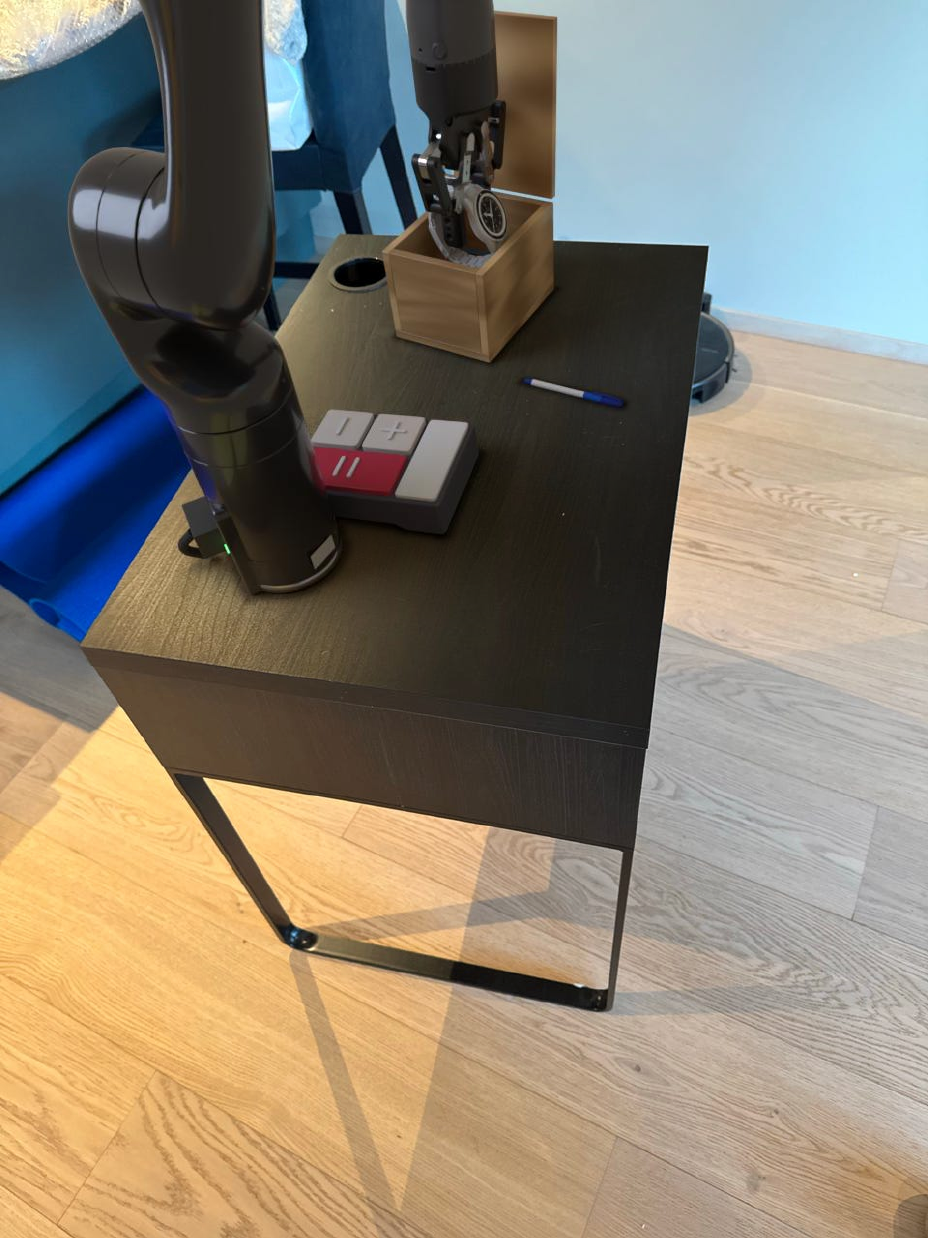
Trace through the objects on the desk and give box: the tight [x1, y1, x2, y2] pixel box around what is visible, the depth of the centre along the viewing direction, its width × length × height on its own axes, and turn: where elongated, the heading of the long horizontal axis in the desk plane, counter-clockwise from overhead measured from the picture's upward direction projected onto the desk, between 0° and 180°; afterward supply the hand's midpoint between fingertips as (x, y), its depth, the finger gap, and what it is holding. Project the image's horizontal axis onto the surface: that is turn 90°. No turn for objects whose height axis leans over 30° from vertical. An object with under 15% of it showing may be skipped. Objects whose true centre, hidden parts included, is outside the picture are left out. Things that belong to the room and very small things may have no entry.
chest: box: [381, 190, 555, 364], centre depth 90 cm, size 15×12×10 cm
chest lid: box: [453, 9, 558, 200], centre depth 84 cm, size 16×12×5 cm
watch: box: [428, 183, 507, 269], centre depth 87 cm, size 6×8×11 cm
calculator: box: [310, 409, 480, 535], centre depth 77 cm, size 11×4×15 cm
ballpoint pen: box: [524, 378, 624, 408], centre depth 83 cm, size 10×1×1 cm, turn 63°
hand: (469, 232), depth 86 cm, fingers closed on watch, 4 cm apart
